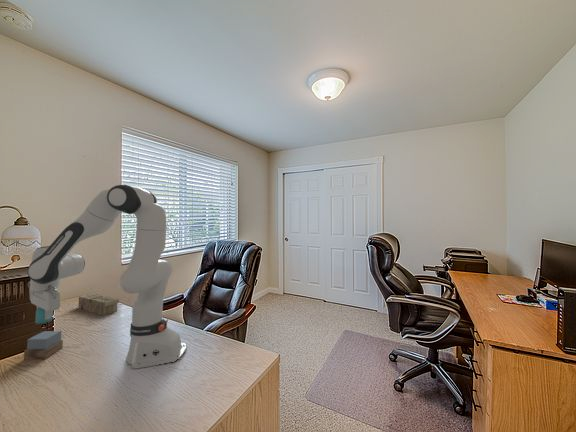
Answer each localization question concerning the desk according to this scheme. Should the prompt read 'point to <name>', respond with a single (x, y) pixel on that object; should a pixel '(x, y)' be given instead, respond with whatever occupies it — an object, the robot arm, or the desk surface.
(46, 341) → the slate-grey upper block
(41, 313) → the teal cylinder
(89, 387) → the desk surface
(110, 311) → the block tower
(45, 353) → the walnut base block
